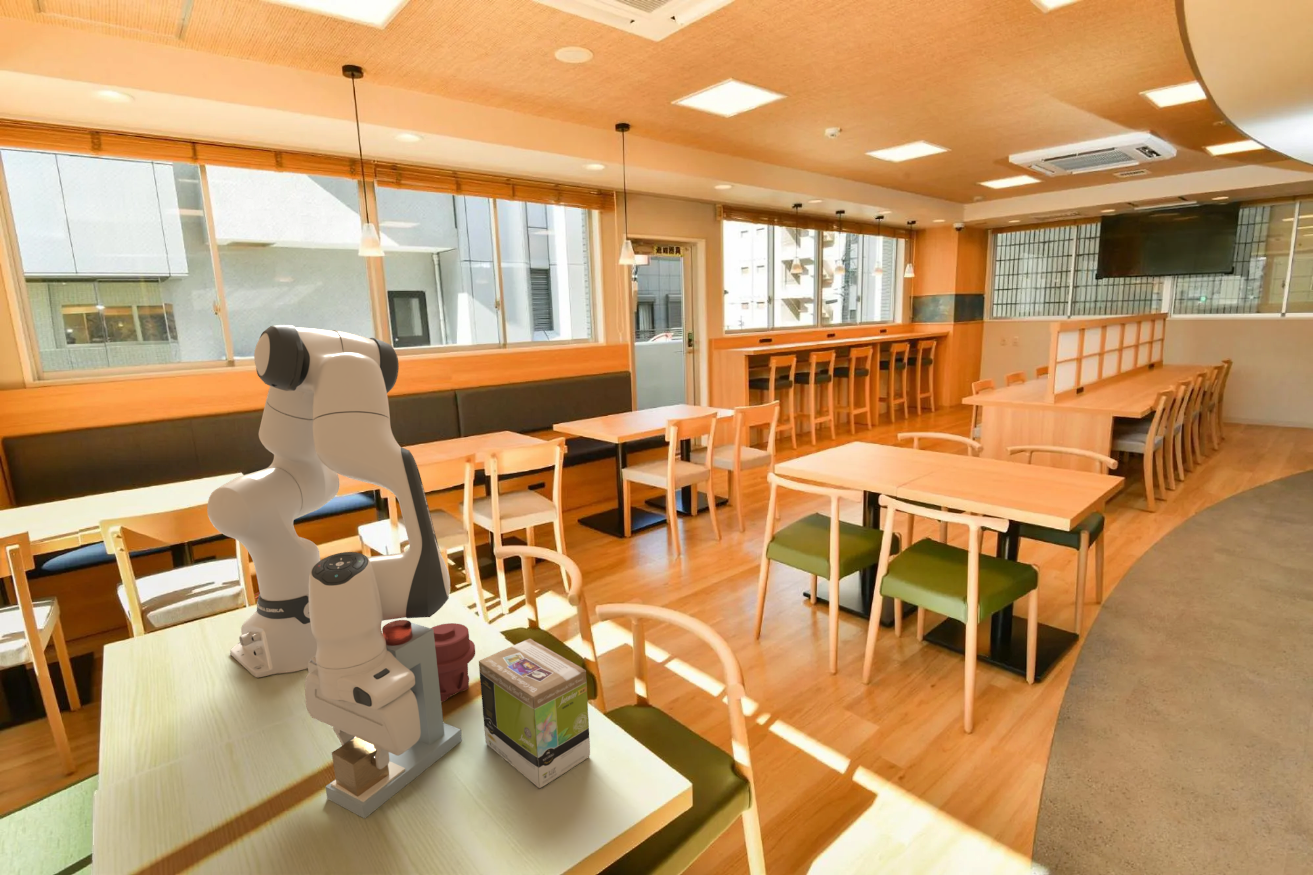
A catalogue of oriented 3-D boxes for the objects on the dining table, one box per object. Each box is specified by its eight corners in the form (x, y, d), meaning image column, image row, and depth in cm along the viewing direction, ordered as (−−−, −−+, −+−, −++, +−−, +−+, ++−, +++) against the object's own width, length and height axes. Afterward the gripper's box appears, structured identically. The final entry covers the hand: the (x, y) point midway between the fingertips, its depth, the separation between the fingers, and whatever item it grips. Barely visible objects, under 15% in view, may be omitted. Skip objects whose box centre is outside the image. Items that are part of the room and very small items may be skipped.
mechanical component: (488, 678, 121) (461, 710, 112) (439, 673, 123) (409, 705, 114) (482, 617, 119) (455, 645, 109) (432, 613, 121) (401, 640, 111)
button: (385, 705, 98) (376, 629, 95) (407, 691, 101) (398, 617, 99) (404, 713, 96) (394, 635, 93) (425, 698, 99) (417, 623, 97)
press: (327, 798, 92) (307, 671, 88) (426, 726, 108) (414, 614, 104) (364, 818, 89) (346, 686, 85) (461, 740, 104) (450, 625, 100)
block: (336, 783, 92) (331, 752, 91) (368, 762, 96) (363, 732, 95) (357, 796, 89) (353, 764, 88) (389, 774, 94) (385, 743, 93)
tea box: (593, 756, 100) (588, 668, 97) (539, 791, 93) (531, 698, 90) (536, 715, 110) (530, 634, 107) (483, 744, 103) (475, 659, 100)
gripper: (286, 663, 92) (300, 749, 95) (384, 702, 83) (396, 796, 85) (327, 643, 98) (339, 724, 101) (423, 677, 88) (433, 766, 91)
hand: (366, 758), depth 93 cm, fingers closed on block, 5 cm apart
